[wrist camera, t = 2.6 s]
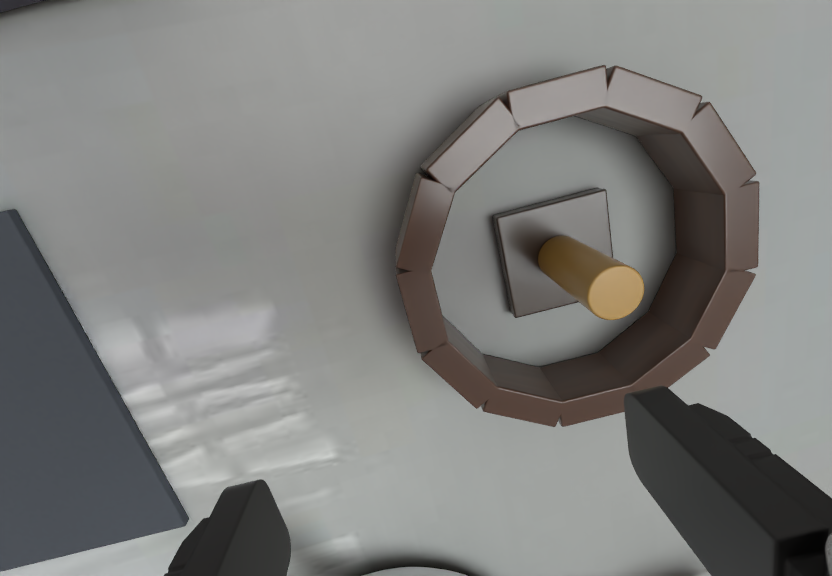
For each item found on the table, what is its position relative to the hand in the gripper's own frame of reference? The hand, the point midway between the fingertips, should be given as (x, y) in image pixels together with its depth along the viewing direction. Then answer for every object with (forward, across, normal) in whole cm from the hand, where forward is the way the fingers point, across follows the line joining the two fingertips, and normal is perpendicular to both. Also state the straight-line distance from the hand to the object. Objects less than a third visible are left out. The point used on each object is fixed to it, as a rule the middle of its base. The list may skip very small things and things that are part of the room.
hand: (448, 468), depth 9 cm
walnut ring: (+12, -7, 0) cm, 14 cm away
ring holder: (+12, -7, 0) cm, 14 cm away
